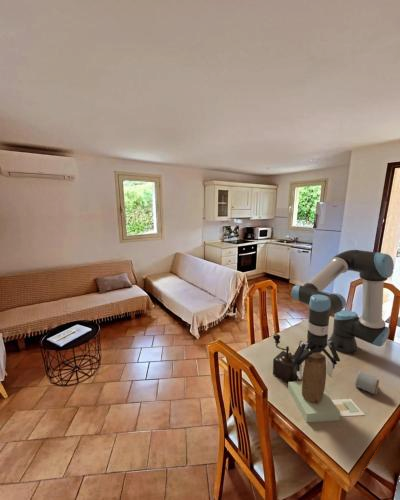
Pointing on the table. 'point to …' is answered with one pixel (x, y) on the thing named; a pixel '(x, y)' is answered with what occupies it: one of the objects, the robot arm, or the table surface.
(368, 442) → the table surface
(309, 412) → the baseplate
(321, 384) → the block
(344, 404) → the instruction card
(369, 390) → the grey cylinder
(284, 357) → the dark brown coffee grinder
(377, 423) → the table surface
